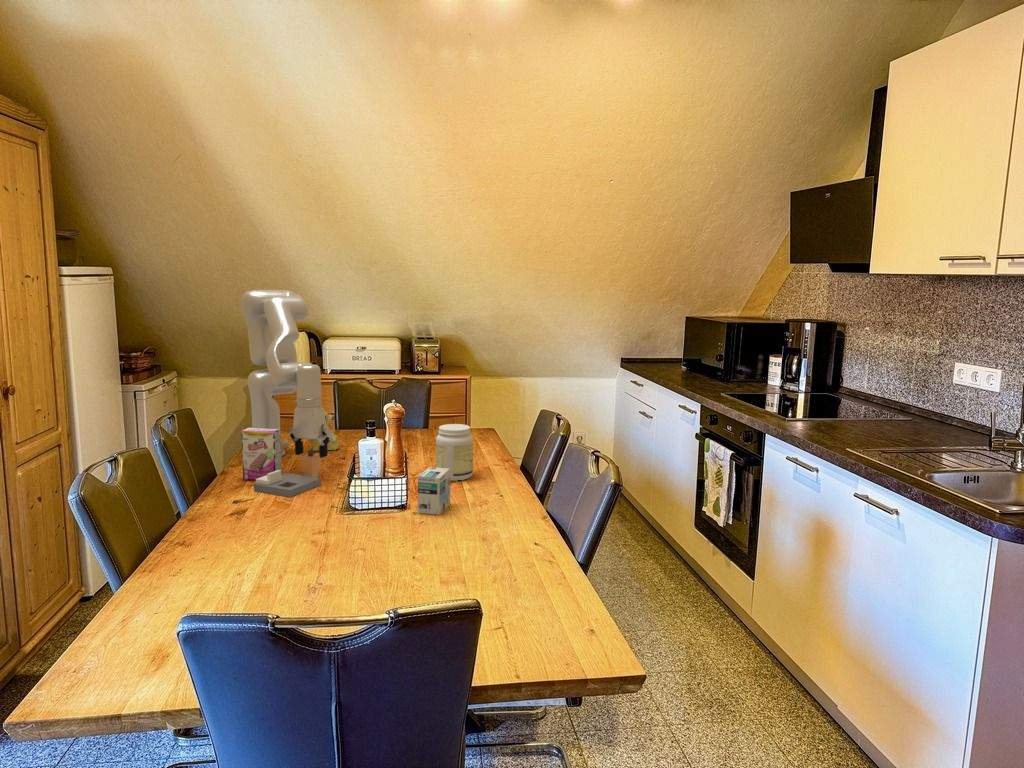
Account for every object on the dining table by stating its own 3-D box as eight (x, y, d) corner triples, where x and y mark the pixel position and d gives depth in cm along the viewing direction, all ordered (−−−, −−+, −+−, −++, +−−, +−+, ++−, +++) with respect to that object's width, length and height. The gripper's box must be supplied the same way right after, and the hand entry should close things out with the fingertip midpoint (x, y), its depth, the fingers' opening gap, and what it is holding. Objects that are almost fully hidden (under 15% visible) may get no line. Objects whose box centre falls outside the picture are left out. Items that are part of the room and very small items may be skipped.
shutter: (270, 477, 214) (269, 467, 214) (282, 479, 212) (282, 469, 212) (255, 482, 209) (255, 472, 208) (268, 484, 207) (268, 474, 206)
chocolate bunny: (308, 449, 260) (307, 410, 257) (338, 447, 264) (337, 409, 262) (310, 454, 253) (309, 414, 251) (340, 451, 258) (340, 412, 255)
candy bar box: (242, 480, 218) (240, 430, 216) (249, 476, 223) (247, 427, 221) (276, 482, 217) (274, 431, 215) (282, 478, 222) (281, 428, 220)
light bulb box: (440, 515, 189) (440, 477, 188) (416, 513, 191) (416, 476, 189) (451, 503, 200) (451, 467, 198) (429, 501, 201) (429, 466, 199)
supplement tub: (475, 472, 233) (475, 423, 230) (469, 482, 221) (470, 431, 218) (439, 471, 234) (440, 422, 231) (432, 481, 222) (432, 430, 219)
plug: (310, 475, 226) (309, 448, 225) (321, 477, 224) (320, 449, 223) (300, 478, 222) (300, 451, 220) (312, 480, 220) (311, 452, 219)
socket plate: (285, 479, 221) (285, 472, 220) (321, 484, 215) (320, 478, 215) (253, 491, 208) (253, 484, 208) (290, 497, 203) (290, 490, 202)
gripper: (279, 403, 219) (282, 455, 221) (323, 406, 212) (325, 460, 215) (295, 400, 226) (297, 450, 228) (338, 403, 219) (340, 455, 221)
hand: (311, 455), depth 221 cm, fingers open, 9 cm apart
